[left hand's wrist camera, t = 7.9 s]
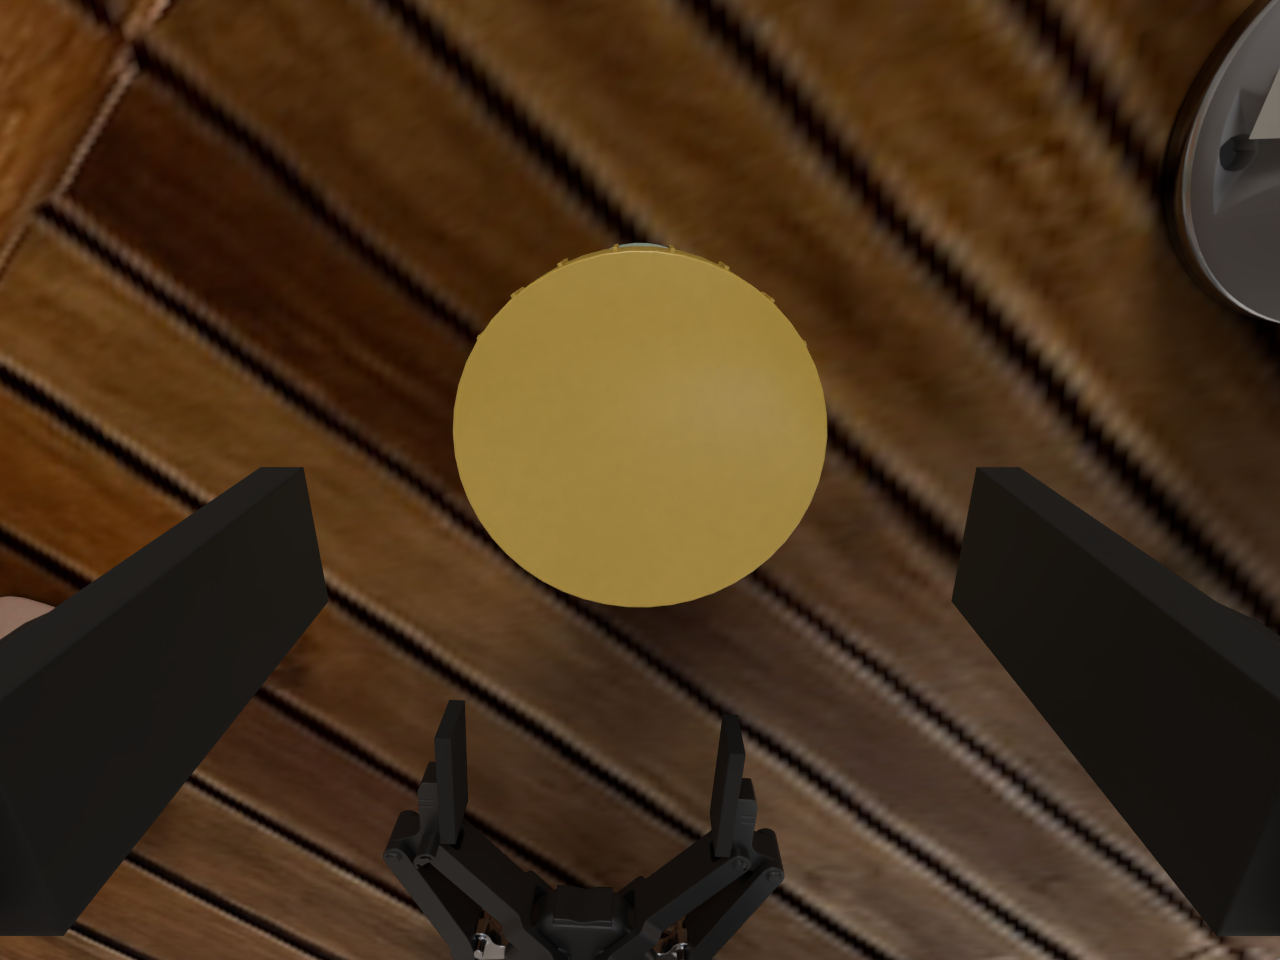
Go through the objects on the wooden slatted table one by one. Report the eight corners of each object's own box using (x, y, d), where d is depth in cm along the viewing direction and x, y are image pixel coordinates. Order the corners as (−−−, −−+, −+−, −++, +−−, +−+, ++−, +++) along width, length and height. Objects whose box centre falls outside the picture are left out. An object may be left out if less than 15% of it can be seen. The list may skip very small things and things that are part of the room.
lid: (882, 410, 19) (909, 431, 17) (650, 628, 22) (651, 668, 20) (626, 158, 17) (624, 152, 15) (401, 436, 20) (375, 461, 18)
